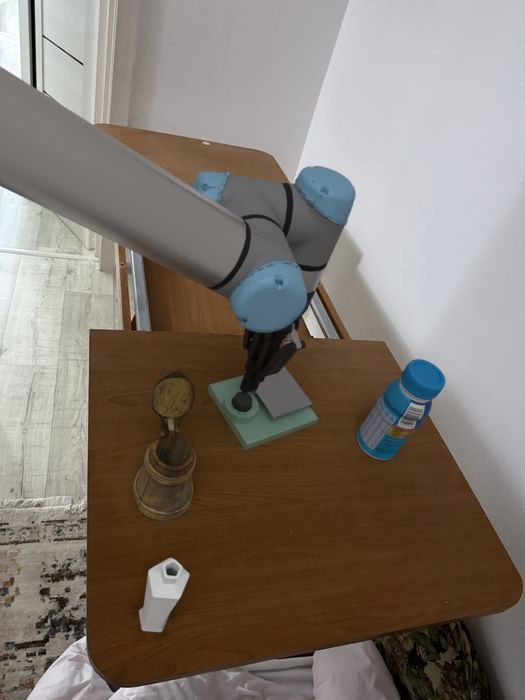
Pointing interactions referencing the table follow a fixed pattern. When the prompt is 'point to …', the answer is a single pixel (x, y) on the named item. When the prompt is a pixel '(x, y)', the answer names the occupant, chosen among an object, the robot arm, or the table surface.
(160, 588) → the white faceted vase
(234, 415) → the scale
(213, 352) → the table surface
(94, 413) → the table surface
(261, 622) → the table surface
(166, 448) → the wooden mug
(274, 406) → the scale plate
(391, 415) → the beverage bottle
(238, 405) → the tare button
